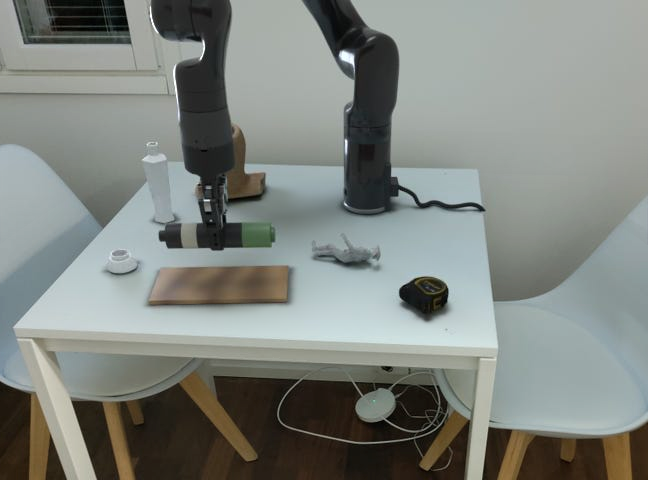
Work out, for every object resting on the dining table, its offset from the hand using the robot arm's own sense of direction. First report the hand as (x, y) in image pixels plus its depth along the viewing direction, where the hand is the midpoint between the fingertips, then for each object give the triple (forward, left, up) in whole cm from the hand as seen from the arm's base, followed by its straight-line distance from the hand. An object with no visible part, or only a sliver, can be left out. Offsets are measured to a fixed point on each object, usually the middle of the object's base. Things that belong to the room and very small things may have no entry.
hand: (219, 242), depth 113 cm
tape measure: (-33, +8, -8) cm, 35 cm away
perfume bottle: (+14, -27, -8) cm, 32 cm away
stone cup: (+2, -38, -8) cm, 39 cm away
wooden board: (0, 0, -8) cm, 8 cm away
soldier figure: (-21, -8, -8) cm, 23 cm away
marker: (0, 0, -1) cm, 1 cm away
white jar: (+18, -7, -8) cm, 21 cm away
